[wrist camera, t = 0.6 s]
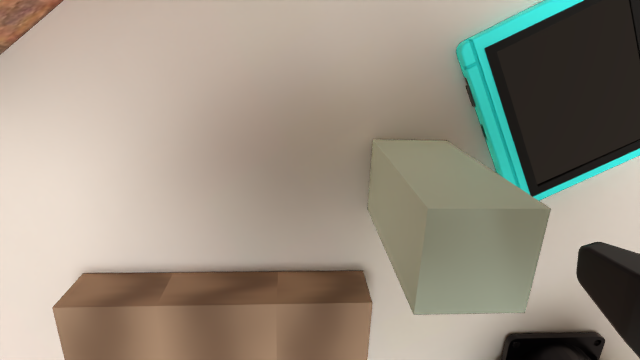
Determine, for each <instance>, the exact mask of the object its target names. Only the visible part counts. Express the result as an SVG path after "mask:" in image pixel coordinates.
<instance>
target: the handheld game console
mask: <svg viewBox="0 0 640 360" xmlns="http://www.w3.org/2000/svg"><path fill="white" fill-rule="evenodd" d="M456 53H457V57H458V60H459V63H460V66H461V69H462V72H463V75H464V77H466V78H467V81H468V84H469V85H467V86H466V89H467V92H468V95H469V97H470V101H471V103H472V106H473V107H475V110H476V113H477V116H478V119H479V122H480V125H481V128H482V131H483V134H484V136H485V139H486V142H487V145H488V148H489V151H490V154H491V157H492V160H493V163H494V166H495V169H496V172H497V173H498V174H499V175H500V176H502V177H503V178H505V179H506V180H508V181H509V182H511V183H512V184H514V185H515V186H517V187H518V188H520V189H522V190H523V191H525V192H526V193H528V194H529V195H531V196H532V197H534V198H535V199H537V200H538V201H539V200H542V199H544V198H546V197H548V196H550V195H553V194H555V193H557V192H559V191H562V190H564V189H566V188H568V187H570V186H573V185H575V184H577V183H579V182H582V181H584V180H586V179H588V178H590V177H593V176H595V175H597V174H599V173H602V172H604V171H606V170H608V169H610V168H613V167H615V166H617V165H619V164H622V163H624V162H626V161H628V160H630V159H633V158H635V157H637V156H639V155H640V0H544V1H542V2H540V3H538V4H536V5H534V6H532V7H530V8H528V9H526V10H524V11H522V12H520V13H518V14H516V15H514V16H512V17H510V18H508V19H506V20H504V21H502V22H500V23H498V24H496V25H494V26H492V27H490V28H488V29H486V30H484V31H482V32H480V33H478V34H476V35H474V36H472V37H470V38H468V39H466V40H464V41H462V42H461V43H460V44H459V45H458V47H457V50H456Z"/></svg>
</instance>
